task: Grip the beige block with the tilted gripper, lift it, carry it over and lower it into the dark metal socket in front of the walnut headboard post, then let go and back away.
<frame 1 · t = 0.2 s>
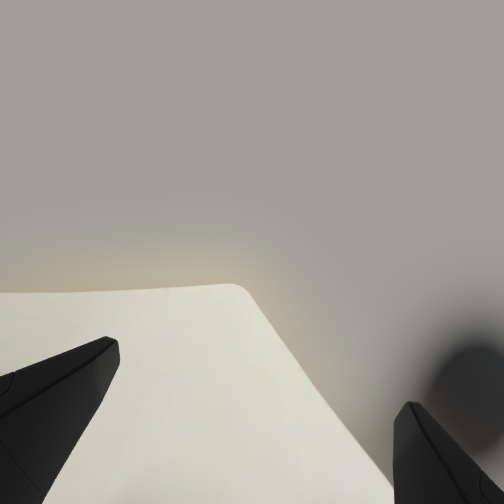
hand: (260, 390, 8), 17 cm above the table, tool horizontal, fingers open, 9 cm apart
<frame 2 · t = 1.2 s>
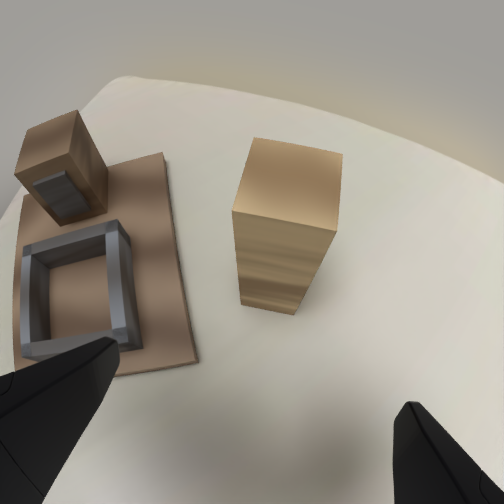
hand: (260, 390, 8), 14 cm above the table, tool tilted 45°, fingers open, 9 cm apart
headboard foot: (92, 306, 23), on the table
beige block: (272, 285, 24), on the table
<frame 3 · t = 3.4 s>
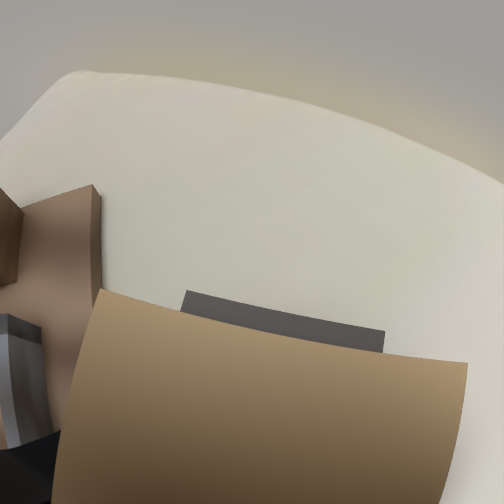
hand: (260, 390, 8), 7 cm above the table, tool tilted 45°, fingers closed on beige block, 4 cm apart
headboard foot: (11, 409, 13), on the table
beige block: (250, 415, 14), on the table, touching gripper
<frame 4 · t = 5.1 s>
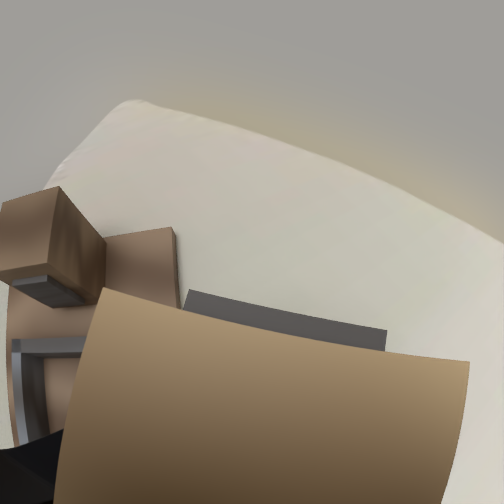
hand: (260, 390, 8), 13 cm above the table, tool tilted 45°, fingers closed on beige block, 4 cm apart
headboard foot: (91, 404, 20), on the table
beige block: (251, 414, 14), point 7 cm above the table, touching gripper
when the fingers open (9 cm above the table, at t = 7.0 s): beige block drops 1 cm, resting on headboard foot.
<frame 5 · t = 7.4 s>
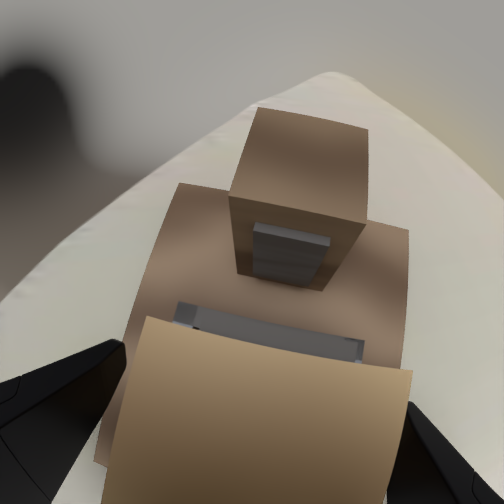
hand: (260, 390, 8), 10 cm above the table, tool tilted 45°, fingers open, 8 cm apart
headboard foot: (250, 410, 17), on the table
beige block: (251, 412, 15), point 2 cm above the table, touching headboard foot
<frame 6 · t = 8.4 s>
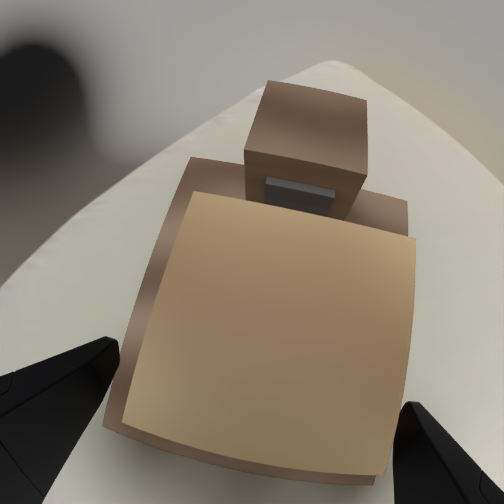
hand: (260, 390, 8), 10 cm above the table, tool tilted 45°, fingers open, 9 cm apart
headboard foot: (259, 370, 18), on the table
beige block: (261, 369, 16), point 1 cm above the table, touching headboard foot
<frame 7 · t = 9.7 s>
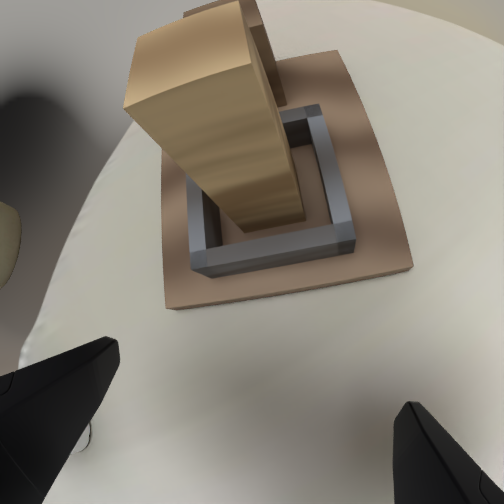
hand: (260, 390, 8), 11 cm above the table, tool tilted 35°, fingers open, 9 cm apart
headboard foot: (274, 207, 22), on the table
beige block: (270, 198, 21), point 1 cm above the table, touching headboard foot
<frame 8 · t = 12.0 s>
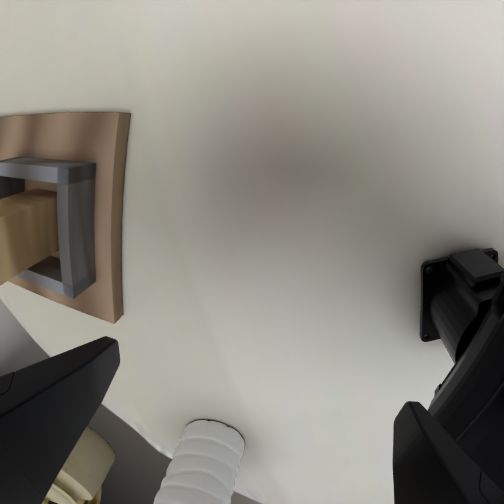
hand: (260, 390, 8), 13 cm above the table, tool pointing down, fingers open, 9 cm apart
headboard foot: (63, 211, 22), on the table
water bottle: (208, 438, 29), on the table
beige block: (51, 215, 21), point 1 cm above the table, touching headboard foot
sugar bowl: (93, 446, 36), on the table
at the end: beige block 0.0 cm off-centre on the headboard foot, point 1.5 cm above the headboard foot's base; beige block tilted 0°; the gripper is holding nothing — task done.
